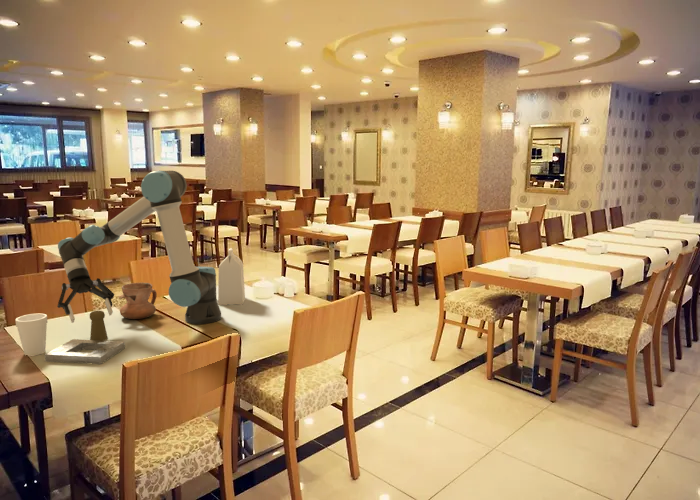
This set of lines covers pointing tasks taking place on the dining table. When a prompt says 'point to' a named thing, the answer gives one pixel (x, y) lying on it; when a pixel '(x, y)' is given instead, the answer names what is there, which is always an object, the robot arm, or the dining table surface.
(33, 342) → the foam cup
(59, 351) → the plate
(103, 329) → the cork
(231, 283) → the milk
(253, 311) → the dining table surface
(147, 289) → the ceramic jug
